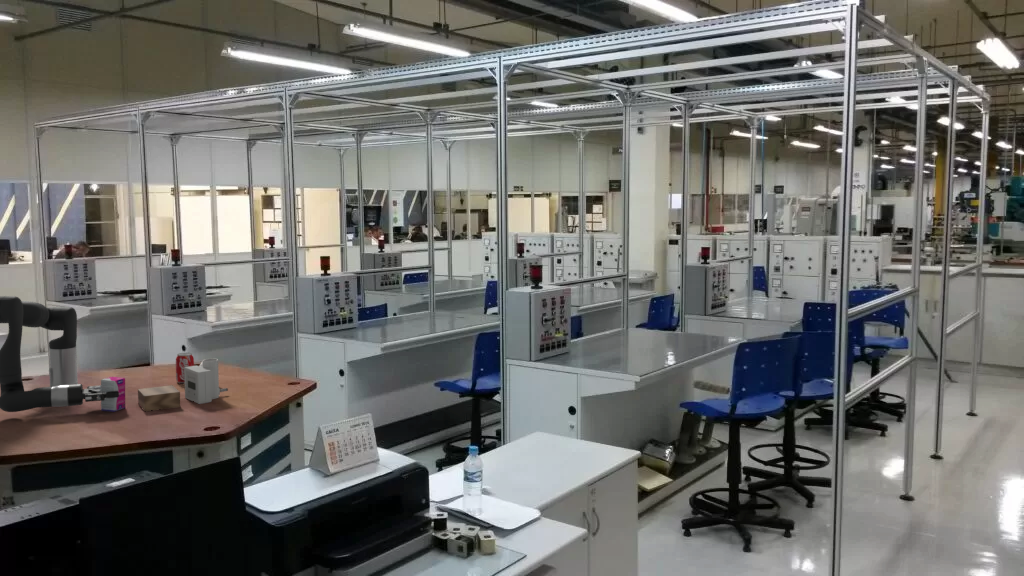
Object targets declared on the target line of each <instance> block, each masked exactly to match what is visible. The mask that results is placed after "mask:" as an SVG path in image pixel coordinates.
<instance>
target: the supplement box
mask: <svg viewBox="0 0 1024 576" xmlns="http://www.w3.org/2000/svg"><path fill="white" fill-rule="evenodd" d="M100 385H101V391H102V392H110V391H118V392H119V397H116V398H107V399H105V400H103V401H100V410H101V411H102V412H112V413H114V412H117V411H121V410H124V409H126V378H125V377H119V376H109V377H105V378H103V379H101V380H100Z"/></svg>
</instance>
